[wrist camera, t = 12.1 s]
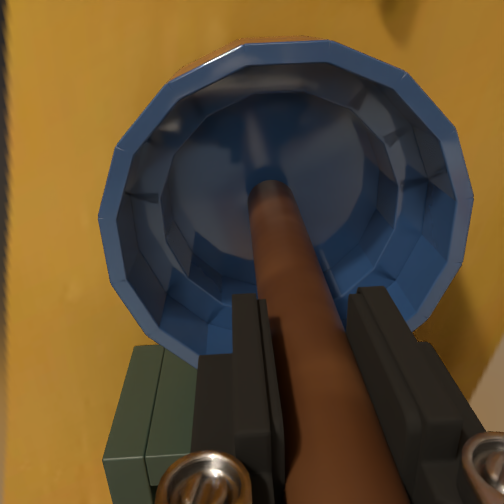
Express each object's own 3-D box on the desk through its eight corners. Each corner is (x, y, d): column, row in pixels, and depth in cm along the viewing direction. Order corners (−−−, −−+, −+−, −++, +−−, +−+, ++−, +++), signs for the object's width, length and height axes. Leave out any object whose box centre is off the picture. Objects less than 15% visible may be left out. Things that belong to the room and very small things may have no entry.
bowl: (428, 29, 18) (503, 32, 13) (398, 300, 24) (444, 374, 19) (109, 43, 18) (64, 51, 13) (151, 315, 23) (131, 394, 18)
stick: (294, 178, 19) (457, 561, 6) (294, 222, 20) (436, 648, 6) (246, 180, 19) (293, 573, 5) (248, 224, 20) (293, 660, 6)
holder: (339, 332, 24) (378, 441, 18) (331, 474, 29) (361, 601, 23) (133, 345, 24) (101, 460, 18) (159, 486, 29) (140, 618, 22)
